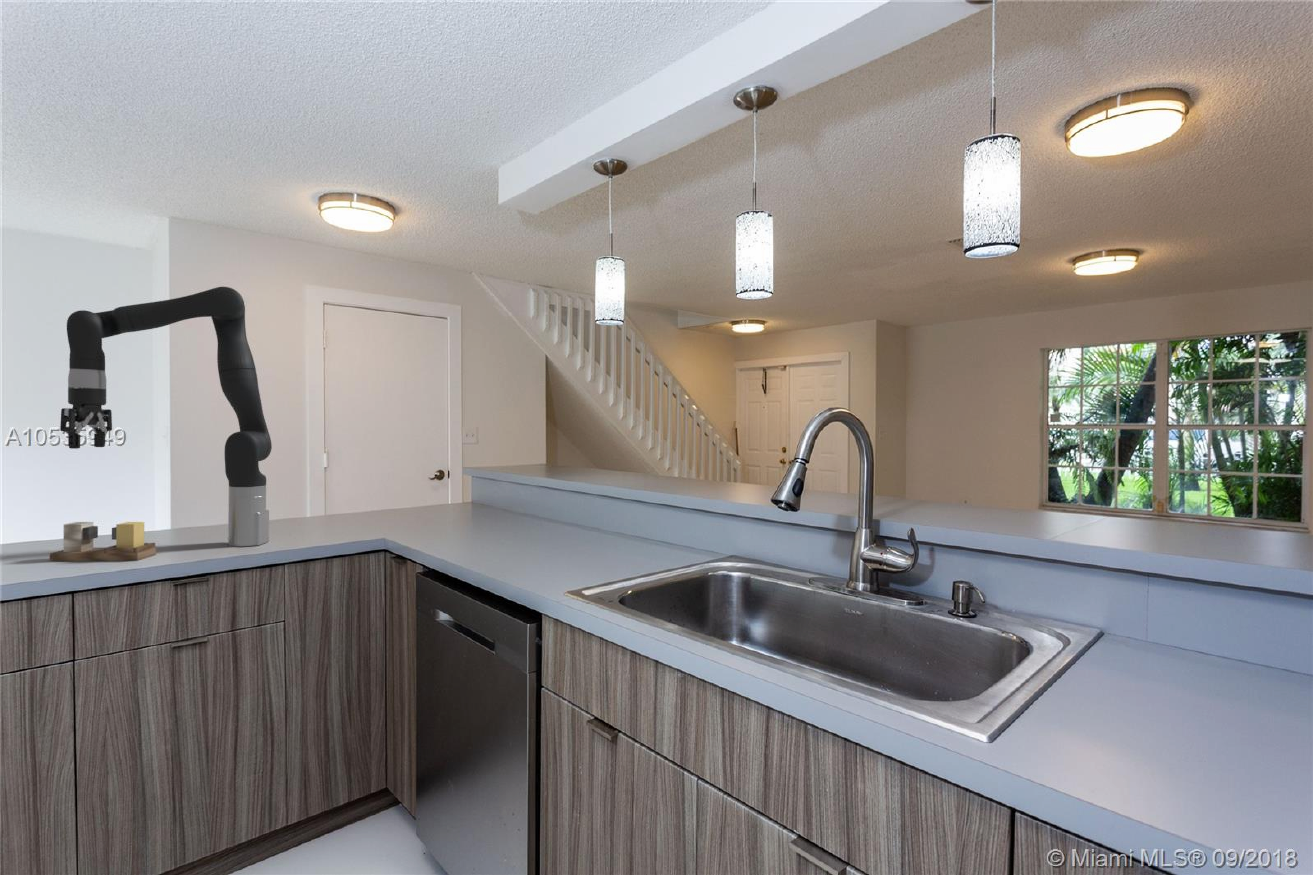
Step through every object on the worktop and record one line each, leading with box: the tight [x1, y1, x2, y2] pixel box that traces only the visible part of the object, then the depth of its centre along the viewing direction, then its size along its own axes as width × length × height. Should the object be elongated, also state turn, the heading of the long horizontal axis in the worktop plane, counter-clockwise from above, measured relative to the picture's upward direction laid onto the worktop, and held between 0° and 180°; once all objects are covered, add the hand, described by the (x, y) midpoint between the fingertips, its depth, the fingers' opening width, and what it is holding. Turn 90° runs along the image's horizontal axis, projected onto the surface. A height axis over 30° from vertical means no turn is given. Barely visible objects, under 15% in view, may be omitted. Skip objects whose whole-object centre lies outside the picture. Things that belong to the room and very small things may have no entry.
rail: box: [49, 521, 157, 562], centre depth 159 cm, size 20×7×9 cm, turn 98°
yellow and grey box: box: [111, 521, 145, 548], centre depth 160 cm, size 5×4×7 cm
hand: (87, 447), depth 164 cm, fingers open, 8 cm apart
